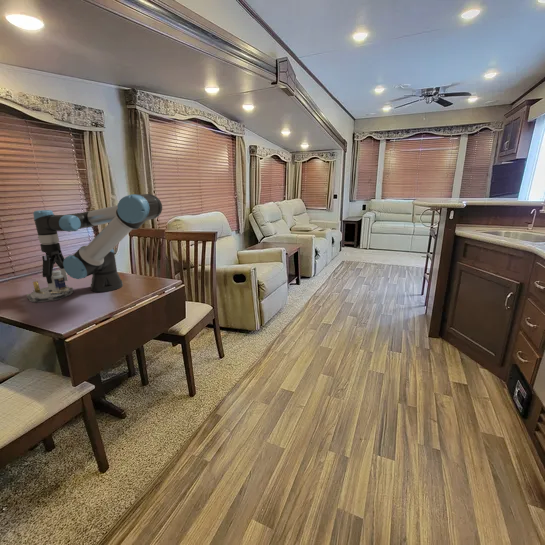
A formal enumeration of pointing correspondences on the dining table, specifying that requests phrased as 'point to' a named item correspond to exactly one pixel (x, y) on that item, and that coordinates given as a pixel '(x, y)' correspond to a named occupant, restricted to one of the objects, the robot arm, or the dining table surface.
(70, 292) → the base plate
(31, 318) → the dining table surface
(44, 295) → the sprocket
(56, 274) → the pill bottle
